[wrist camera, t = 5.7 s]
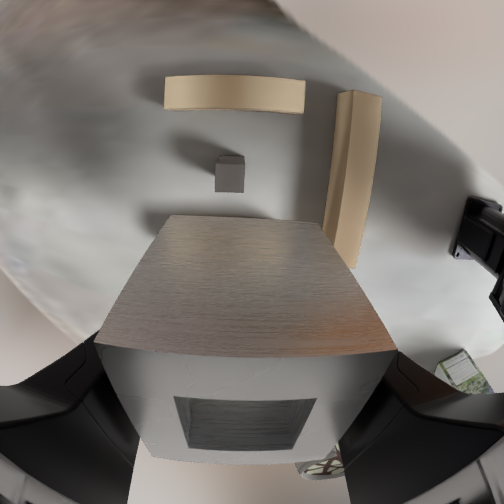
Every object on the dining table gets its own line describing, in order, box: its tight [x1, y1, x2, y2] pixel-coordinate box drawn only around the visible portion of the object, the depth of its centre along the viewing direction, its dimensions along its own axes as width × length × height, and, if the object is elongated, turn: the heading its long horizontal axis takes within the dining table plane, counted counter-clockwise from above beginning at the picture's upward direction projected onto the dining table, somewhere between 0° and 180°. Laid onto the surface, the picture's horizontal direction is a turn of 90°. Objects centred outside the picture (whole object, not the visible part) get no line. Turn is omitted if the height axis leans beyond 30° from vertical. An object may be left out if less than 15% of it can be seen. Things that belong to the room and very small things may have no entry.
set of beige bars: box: [164, 75, 382, 268], centre depth 17 cm, size 13×12×4 cm
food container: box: [295, 442, 345, 480], centre depth 28 cm, size 12×6×10 cm, turn 29°
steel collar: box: [94, 215, 398, 465], centre depth 8 cm, size 5×5×6 cm
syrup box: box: [434, 350, 495, 394], centre depth 25 cm, size 6×6×14 cm
